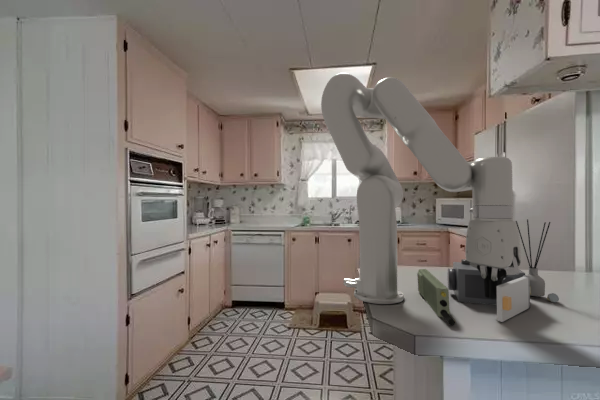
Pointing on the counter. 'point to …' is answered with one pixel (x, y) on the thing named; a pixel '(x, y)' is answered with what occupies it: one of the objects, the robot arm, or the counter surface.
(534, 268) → the reed diffuser
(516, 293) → the side door
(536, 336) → the counter surface
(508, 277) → the camera housing
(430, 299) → the handheld radio
